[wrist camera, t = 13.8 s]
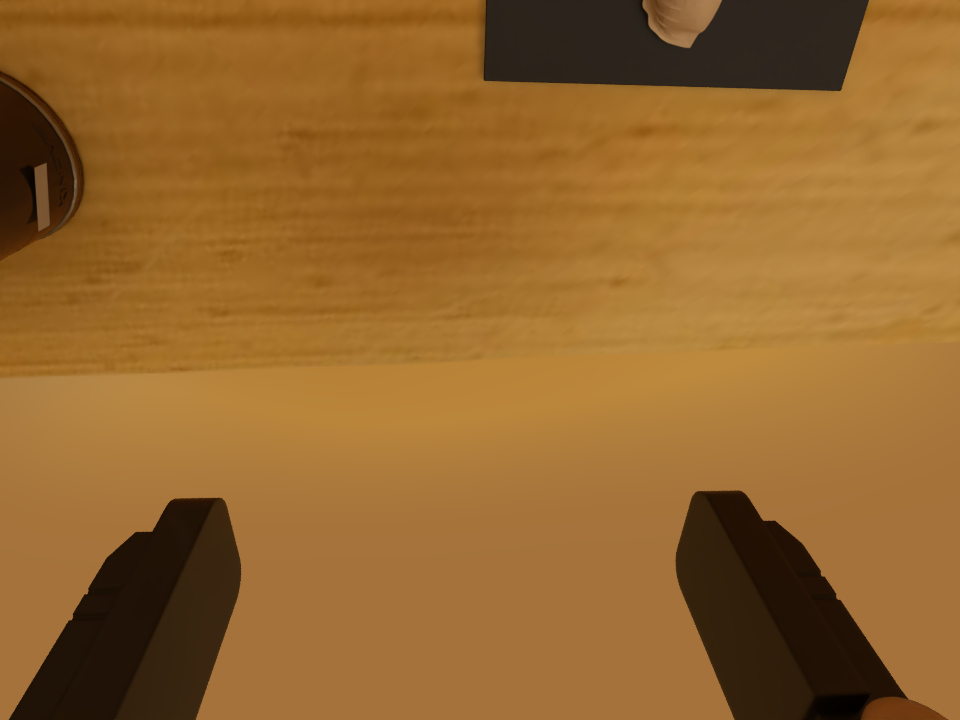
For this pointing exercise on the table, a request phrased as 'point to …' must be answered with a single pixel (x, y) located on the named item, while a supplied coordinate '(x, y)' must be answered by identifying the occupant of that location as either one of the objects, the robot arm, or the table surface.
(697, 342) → the table surface
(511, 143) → the table surface
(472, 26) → the table surface
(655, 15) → the decorative ornament
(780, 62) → the mat
